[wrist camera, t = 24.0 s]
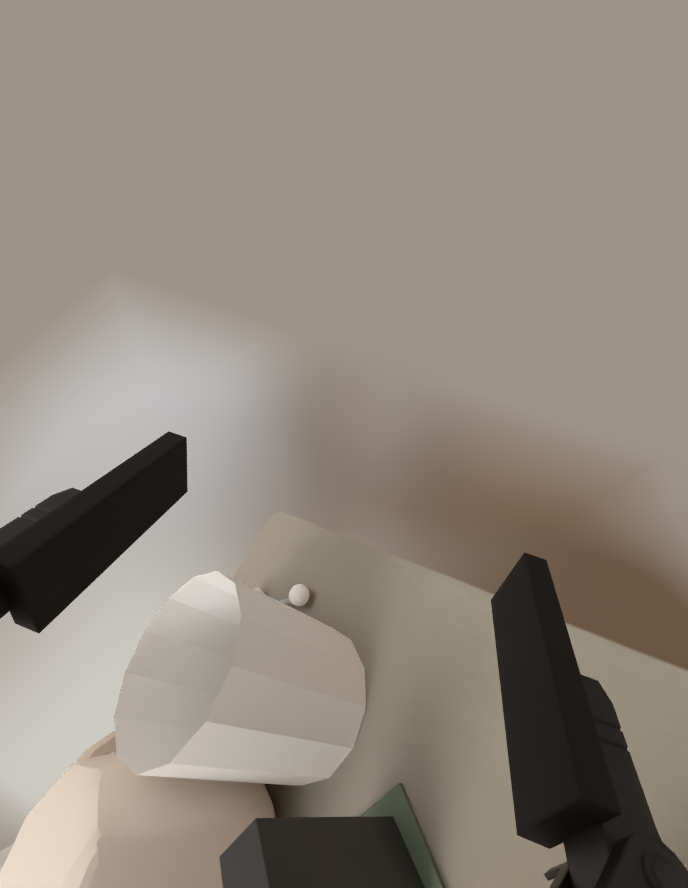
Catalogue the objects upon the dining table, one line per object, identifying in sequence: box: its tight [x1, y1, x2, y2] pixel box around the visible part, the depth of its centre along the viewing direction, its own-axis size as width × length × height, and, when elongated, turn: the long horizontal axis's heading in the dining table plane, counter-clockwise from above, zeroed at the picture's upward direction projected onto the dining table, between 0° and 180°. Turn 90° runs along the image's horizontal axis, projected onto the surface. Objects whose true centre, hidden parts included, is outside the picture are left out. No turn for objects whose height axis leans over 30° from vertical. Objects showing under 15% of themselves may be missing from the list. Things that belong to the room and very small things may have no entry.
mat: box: [361, 783, 445, 888], centre depth 28 cm, size 8×6×1 cm
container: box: [114, 571, 366, 786], centre depth 36 cm, size 14×14×18 cm
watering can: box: [0, 732, 276, 888], centre depth 29 cm, size 16×27×19 cm, turn 38°
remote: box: [219, 816, 425, 888], centre depth 23 cm, size 5×3×16 cm, turn 32°
